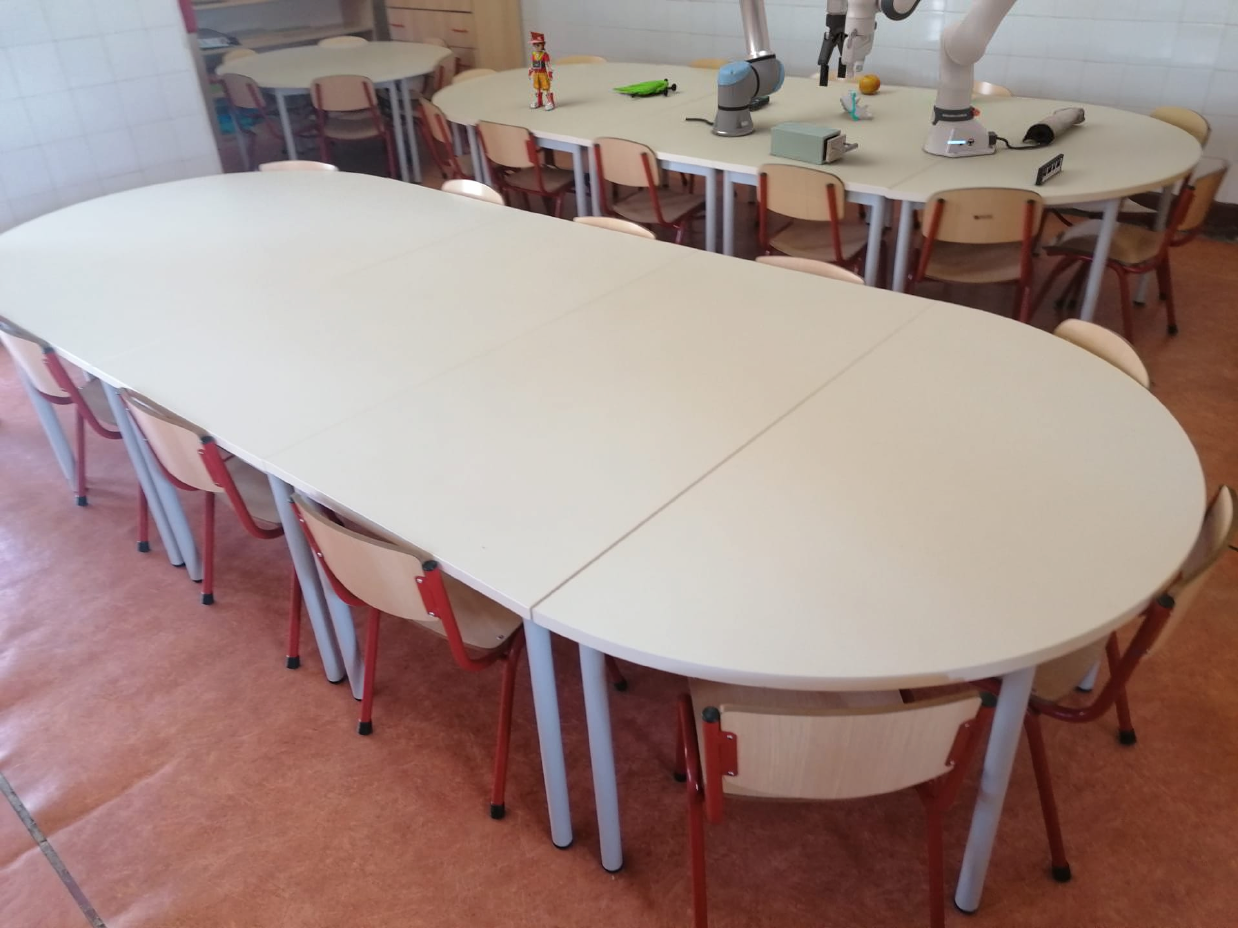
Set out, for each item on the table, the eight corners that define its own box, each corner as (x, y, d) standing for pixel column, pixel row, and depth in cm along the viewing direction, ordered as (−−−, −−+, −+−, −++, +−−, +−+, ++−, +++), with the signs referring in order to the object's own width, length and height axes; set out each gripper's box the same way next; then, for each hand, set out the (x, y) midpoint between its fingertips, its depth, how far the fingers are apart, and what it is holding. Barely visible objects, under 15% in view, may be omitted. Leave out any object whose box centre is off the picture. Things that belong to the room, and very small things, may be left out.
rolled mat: (1051, 112, 323) (1076, 94, 315) (1065, 133, 323) (1091, 116, 315) (1017, 135, 306) (1043, 117, 298) (1032, 158, 306) (1058, 140, 298)
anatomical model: (835, 89, 346) (860, 82, 346) (837, 116, 352) (863, 109, 352) (846, 98, 334) (872, 91, 333) (848, 126, 340) (874, 119, 339)
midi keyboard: (1039, 185, 269) (1043, 168, 266) (1035, 184, 270) (1038, 168, 267) (1060, 170, 279) (1064, 154, 277) (1056, 169, 280) (1060, 153, 277)
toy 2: (686, 85, 398) (631, 84, 414) (685, 72, 395) (629, 72, 411) (651, 104, 381) (596, 103, 397) (650, 92, 378) (594, 91, 394)
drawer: (858, 158, 298) (860, 137, 294) (842, 165, 293) (844, 143, 289) (796, 146, 313) (797, 126, 309) (780, 153, 308) (781, 132, 304)
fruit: (854, 86, 370) (866, 68, 367) (856, 89, 378) (868, 72, 375) (870, 97, 369) (883, 79, 366) (872, 100, 376) (884, 83, 373)
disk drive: (754, 111, 359) (769, 102, 369) (754, 104, 357) (770, 95, 367) (731, 109, 364) (746, 100, 374) (731, 102, 362) (747, 93, 372)
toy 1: (525, 109, 381) (517, 32, 364) (534, 104, 388) (527, 28, 371) (550, 110, 377) (543, 32, 360) (559, 105, 384) (553, 28, 367)
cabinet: (838, 157, 304) (841, 130, 299) (820, 164, 298) (823, 137, 293) (788, 147, 316) (789, 121, 311) (770, 154, 310) (771, 128, 305)
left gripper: (831, 20, 283) (825, 91, 295) (865, 7, 299) (858, 75, 311) (809, 18, 287) (805, 88, 299) (844, 6, 303) (838, 73, 315)
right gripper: (859, 33, 269) (854, 82, 277) (878, 22, 283) (873, 69, 291) (839, 32, 272) (834, 81, 280) (859, 21, 286) (854, 67, 294)
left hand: (832, 82), depth 305 cm, fingers open, 13 cm apart
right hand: (854, 74), depth 286 cm, fingers open, 8 cm apart
